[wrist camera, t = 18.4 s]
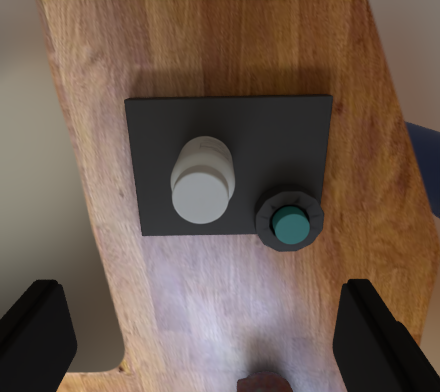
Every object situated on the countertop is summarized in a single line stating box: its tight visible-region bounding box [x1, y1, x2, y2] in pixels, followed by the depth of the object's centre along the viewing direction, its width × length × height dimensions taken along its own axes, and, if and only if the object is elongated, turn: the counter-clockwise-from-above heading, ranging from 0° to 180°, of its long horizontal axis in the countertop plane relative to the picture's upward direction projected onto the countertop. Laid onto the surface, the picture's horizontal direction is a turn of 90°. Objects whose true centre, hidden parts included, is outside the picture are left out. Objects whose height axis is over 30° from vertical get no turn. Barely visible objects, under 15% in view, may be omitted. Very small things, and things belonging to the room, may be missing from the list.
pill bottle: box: [171, 136, 235, 224], centre depth 22 cm, size 4×4×8 cm
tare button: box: [272, 206, 310, 244], centre depth 26 cm, size 3×3×2 cm
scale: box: [124, 94, 333, 252], centre depth 26 cm, size 16×13×3 cm
